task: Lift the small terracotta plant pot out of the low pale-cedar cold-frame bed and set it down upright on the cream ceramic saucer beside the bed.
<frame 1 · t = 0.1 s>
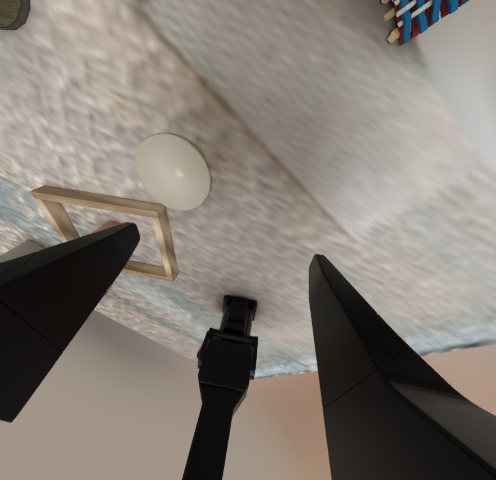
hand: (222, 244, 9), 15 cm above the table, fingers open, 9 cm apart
cream saucer: (175, 174, 23), on the table
cold frame: (119, 234, 31), on the table
hinge: (73, 265, 39), on the table
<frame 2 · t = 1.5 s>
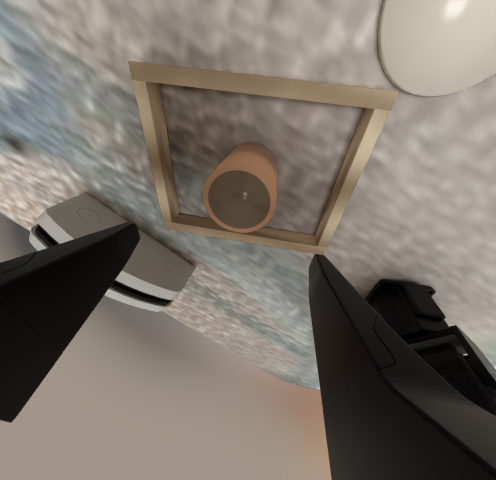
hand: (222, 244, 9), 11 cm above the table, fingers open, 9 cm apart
terracotta pot: (251, 172, 18), resting in cold frame
cold frame: (251, 172, 18), on the table
hinge: (144, 236, 26), on the table
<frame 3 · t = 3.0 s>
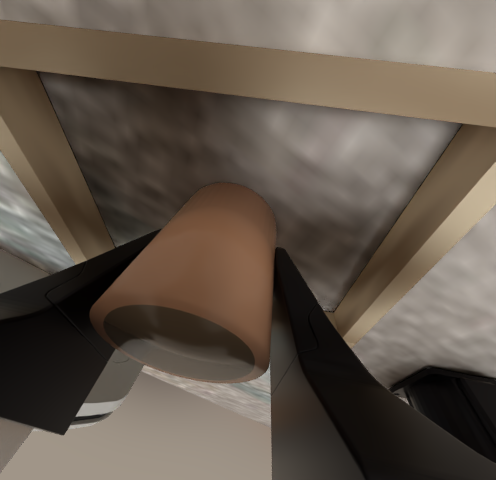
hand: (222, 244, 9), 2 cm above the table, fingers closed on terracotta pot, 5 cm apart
terracotta pot: (229, 227, 11), resting in cold frame, touching gripper
cold frame: (229, 228, 11), on the table
hinge: (87, 294, 18), on the table
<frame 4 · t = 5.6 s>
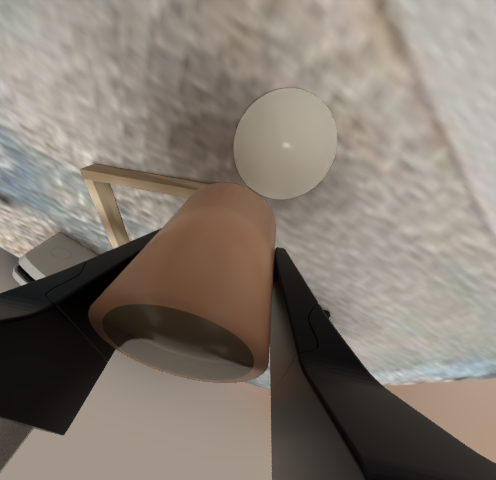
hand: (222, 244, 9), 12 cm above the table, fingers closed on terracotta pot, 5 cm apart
terracotta pot: (229, 227, 11), point 11 cm above the table, touching gripper
cream saucer: (282, 150, 17), on the table
cold frame: (178, 229, 25), on the table
hinge: (109, 264, 33), on the table
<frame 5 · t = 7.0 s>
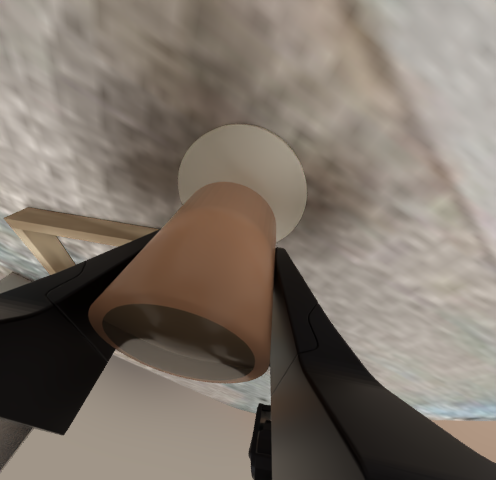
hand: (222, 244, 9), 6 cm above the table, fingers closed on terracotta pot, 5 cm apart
terracotta pot: (229, 227, 11), point 4 cm above the table, touching gripper
cream saucer: (242, 195, 14), on the table
cold frame: (138, 273, 22), on the table
hinge: (74, 302, 29), on the table
when the fingers open (4 cm above the table, at t = 8.2 s): terracotta pot drops 1 cm, resting on cream saucer.
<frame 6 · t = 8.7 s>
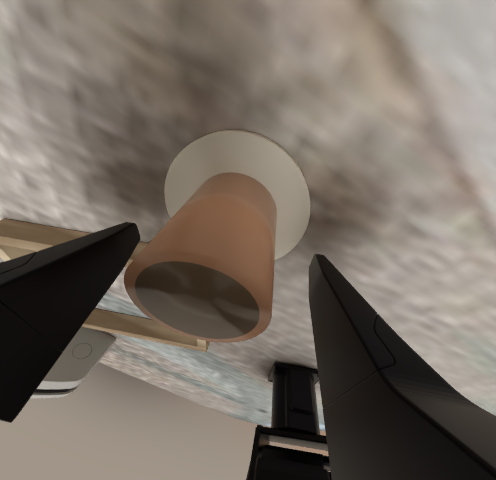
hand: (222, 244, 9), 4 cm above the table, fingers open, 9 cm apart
terracotta pot: (234, 214, 12), point 1 cm above the table, touching cream saucer
cream saucer: (237, 208, 12), on the table
cold frame: (127, 287, 20), on the table
hinge: (62, 314, 28), on the table
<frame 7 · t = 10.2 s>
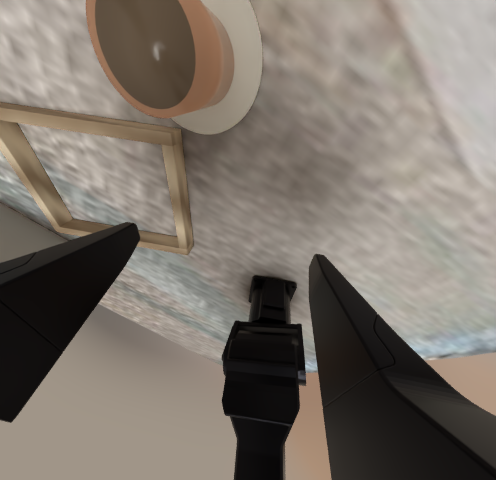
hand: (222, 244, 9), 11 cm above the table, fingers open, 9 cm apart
terracotta pot: (198, 62, 13), point 1 cm above the table, touching cream saucer
cream saucer: (202, 63, 14), on the table
cold frame: (112, 186, 22), on the table
hinge: (55, 235, 29), on the table
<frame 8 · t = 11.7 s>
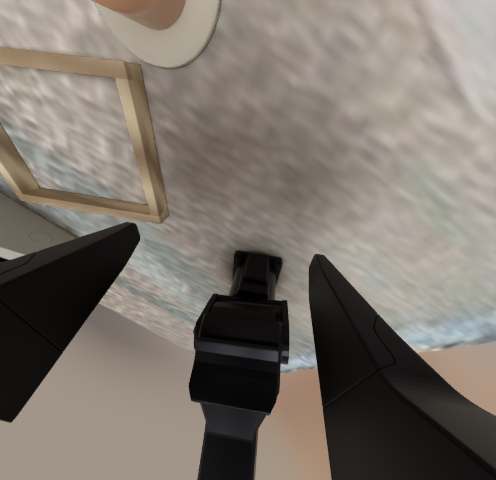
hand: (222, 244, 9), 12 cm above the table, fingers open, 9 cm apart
cold frame: (76, 145, 20), on the table
hinge: (25, 209, 27), on the table
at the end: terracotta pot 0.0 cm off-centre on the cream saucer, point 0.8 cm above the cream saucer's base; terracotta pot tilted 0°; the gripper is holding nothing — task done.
